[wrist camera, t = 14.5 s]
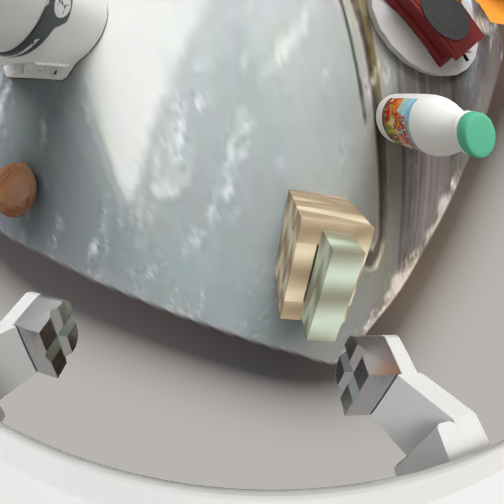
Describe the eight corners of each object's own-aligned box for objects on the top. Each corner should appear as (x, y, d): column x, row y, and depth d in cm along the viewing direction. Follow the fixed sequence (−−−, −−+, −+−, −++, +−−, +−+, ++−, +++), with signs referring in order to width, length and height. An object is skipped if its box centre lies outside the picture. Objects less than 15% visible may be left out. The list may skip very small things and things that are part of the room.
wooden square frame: (326, 277, 51) (343, 322, 40) (274, 272, 50) (280, 318, 39) (346, 198, 44) (374, 229, 34) (289, 189, 44) (301, 218, 33)
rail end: (321, 298, 43) (334, 341, 35) (297, 296, 43) (306, 340, 35) (342, 221, 38) (365, 253, 29) (315, 217, 37) (332, 249, 29)
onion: (26, 185, 45) (-16, 204, 38) (28, 145, 40) (-19, 162, 32) (46, 215, 45) (2, 238, 37) (49, 173, 39) (-3, 195, 31)
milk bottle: (391, 83, 36) (476, 80, 18) (425, 116, 38) (514, 136, 20) (364, 121, 39) (440, 137, 21) (400, 153, 41) (482, 190, 23)
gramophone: (414, -47, 24) (499, -98, 1) (487, 44, 30) (592, 45, 8) (339, -3, 30) (417, -81, 8) (426, 99, 37) (549, 118, 14)
